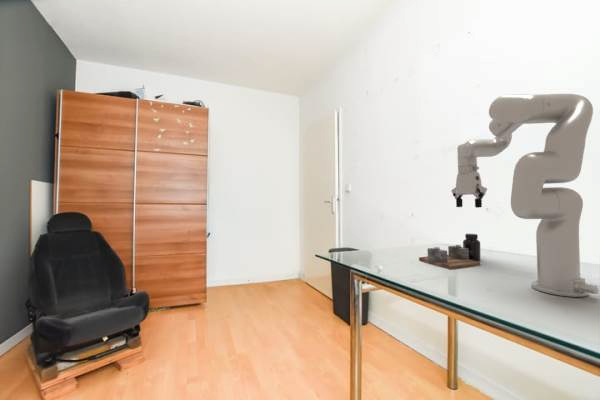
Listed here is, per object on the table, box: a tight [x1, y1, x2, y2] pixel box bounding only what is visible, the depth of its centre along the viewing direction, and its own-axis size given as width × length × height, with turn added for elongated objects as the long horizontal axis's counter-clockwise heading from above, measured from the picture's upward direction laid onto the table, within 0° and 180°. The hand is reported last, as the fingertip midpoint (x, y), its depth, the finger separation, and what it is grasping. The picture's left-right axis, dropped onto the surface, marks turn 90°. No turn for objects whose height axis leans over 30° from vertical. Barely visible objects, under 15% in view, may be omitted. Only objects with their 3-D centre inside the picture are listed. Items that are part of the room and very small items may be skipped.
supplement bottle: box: [462, 233, 481, 262], centre depth 125 cm, size 7×7×12 cm
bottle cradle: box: [418, 244, 481, 270], centre depth 120 cm, size 18×16×8 cm
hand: (468, 207), depth 125 cm, fingers open, 9 cm apart
